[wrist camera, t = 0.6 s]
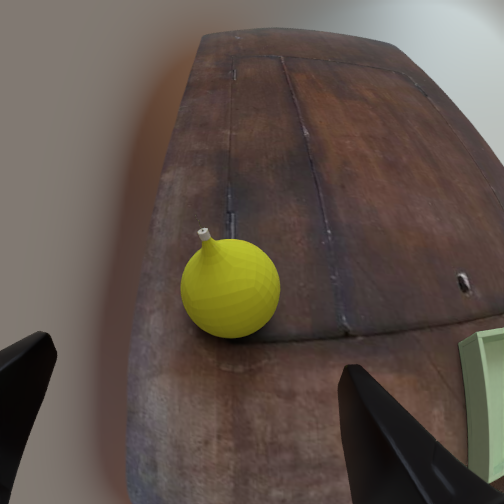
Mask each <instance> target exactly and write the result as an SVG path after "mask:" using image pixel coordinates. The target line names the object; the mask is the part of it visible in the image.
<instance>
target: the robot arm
mask: <svg viewBox="0 0 504 504" xmlns="http://www.w3.org/2000/svg"><path fill="white" fill-rule="evenodd" d="M56 360H57V351H56V348H55V346H54V343H53V341H52V338H51V336H50V335H49V334H48V333H46V332H42V331H37V332H36V333H33V334H31V335H29V336H28V337H26V338H24V339H22V340H20V341H18V342H16V343H14V344H12V345H11V346H8V347H7V348H5V349H3V350H1V351H0V504H8V503H9V500H10V495H11V491H12V487H13V483H14V480H15V477H16V473H17V470H18V467H19V464H20V460H21V458H22V455H23V451H24V449H25V445H26V443H27V440H28V437H29V435H30V432H31V429H32V427H33V424H34V421H35V419H36V416H37V414H38V411H39V409H40V406H41V404H42V402H43V399H44V396H45V393H46V391H47V387H48V384H49V381H50V378H51V375H52V372H53V369H54V366H55V363H56ZM338 402H339V416H340V430H341V439H342V445H343V450H344V456H345V461H346V467H347V473H348V479H349V484H350V491H351V497H352V503H353V504H504V493H502V492H500V491H498V490H497V489H495V488H494V487H492V486H491V485H490V484H488V483H487V482H486V481H484V480H483V479H482V478H480V477H479V476H478V475H476V474H475V473H474V472H472V471H471V470H470V469H469V468H467V467H466V466H465V465H464V464H462V463H461V462H460V461H459V460H458V459H456V458H455V457H454V456H453V455H452V454H451V453H450V452H449V451H448V450H447V449H445V448H444V447H443V446H442V445H441V444H440V443H439V442H438V441H436V439H435V438H434V437H433V436H432V435H431V434H430V433H429V432H428V431H427V430H426V429H425V428H424V427H423V426H422V425H421V424H420V423H419V422H418V421H417V420H416V419H415V418H414V417H413V416H412V415H411V414H410V413H409V412H408V411H407V410H406V409H404V408H403V407H402V406H401V405H400V404H399V403H398V402H397V401H396V400H395V399H394V398H393V397H392V396H391V395H390V394H389V393H388V392H387V391H386V390H385V389H384V388H383V387H382V386H381V385H380V384H379V383H378V382H377V381H376V380H375V379H374V378H373V377H372V376H371V375H370V374H369V373H368V372H367V371H366V370H365V369H364V368H363V367H362V366H361V365H358V364H352V365H346V366H345V367H344V369H343V372H342V375H341V378H340V381H339V383H338Z"/></svg>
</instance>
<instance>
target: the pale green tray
mask: <svg viewBox="0 0 504 504" xmlns="http://www.w3.org/2000/svg"><path fill="white" fill-rule="evenodd" d="M458 346H459V352H460V358H461V365H462V372H463V379H464V388H465V398H466V409H467V425H468V468H469V469H470V470H471V471H472V472H474V473H475V474H476V475H478V476H479V477H480V478H482V479H483V480H484V481H486V482H487V483H488V484H489V483H491V482H493V481H494V480H496V479H498V478H500V477H502V476H503V475H504V328H499V329H493V330H487V331H480V332H476V333H474V334H473V335H471V336H470V337H468V338H466V339H465V340H463V341H461V342H460V343H458Z"/></svg>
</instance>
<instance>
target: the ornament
mask: <svg viewBox="0 0 504 504" xmlns="http://www.w3.org/2000/svg"><path fill="white" fill-rule="evenodd" d="M195 218H196V217H195ZM196 220H197V219H196ZM197 221H198V220H197ZM199 223H200V222H199ZM198 234H199V237H200V239H201V241H202V248H201V249H200V250H199V251H198V252H196V253H195V254H194V256H193V257H192V258H191V259H190V261H189V262H188V263H187V266H186V268H185V270H184V273H183V275H182V280H181V297H182V301H183V305H184V308H185V310H186V311H187V313H188V315H189V316H190V318H191V319H192V320H193V322H194V323H195V324H196V325H198V326H199V327H200V328H201V329H202V330H204V331H206V332H208V333H210V334H212V335H214V336H218V337H223V338H239V337H243V336H247V335H250V334H252V333H254V332H256V331H257V330H259V329H260V328H261V327H263V326H264V325H265V324H266V323H267V322H268V321H269V320H270V318H271V317H272V315H273V314H274V312H275V309H276V307H277V304H278V301H279V294H280V282H279V276H278V273H277V270H276V268H275V266H274V264H273V263H272V261H271V260H270V258H269V257H268V256H267V255H266V254H265V253H264V252H263V251H262V250H260V249H259V248H258V247H257V246H255V245H253V244H251V243H249V242H246V241H243V240H236V239H224V240H219V241H215V240H213V239H212V238H211V237H210V234H209V231H208V229H207V228H203V229H202V227H201V229H200V230H199V231H198Z"/></svg>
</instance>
